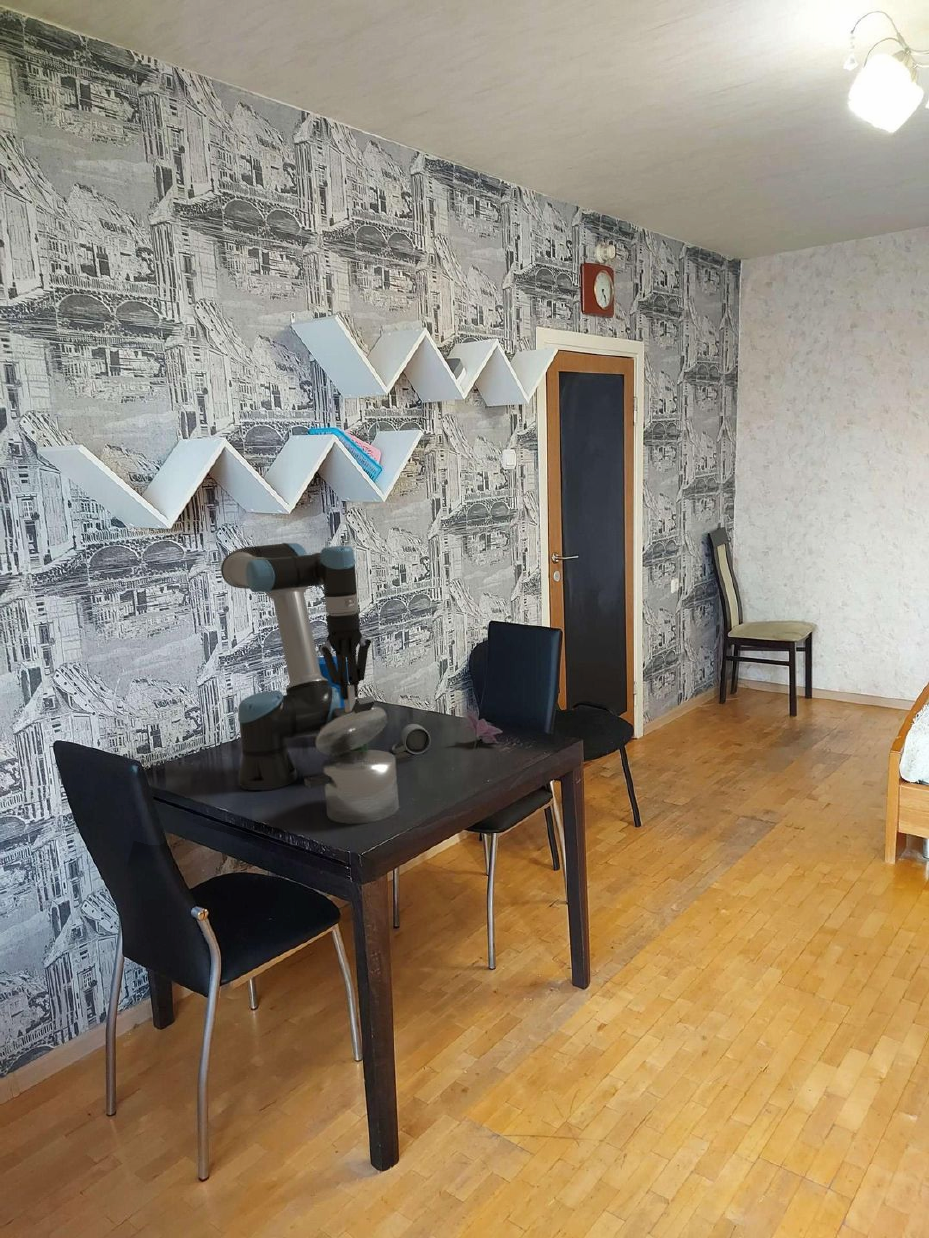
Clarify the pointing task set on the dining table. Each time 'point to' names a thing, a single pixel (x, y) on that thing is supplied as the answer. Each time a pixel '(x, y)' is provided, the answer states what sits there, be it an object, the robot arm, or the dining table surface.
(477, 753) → the dining table surface
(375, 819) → the steel pot
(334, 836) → the dining table surface
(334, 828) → the dining table surface
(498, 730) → the lily
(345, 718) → the pot lid
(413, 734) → the ceramic mug
